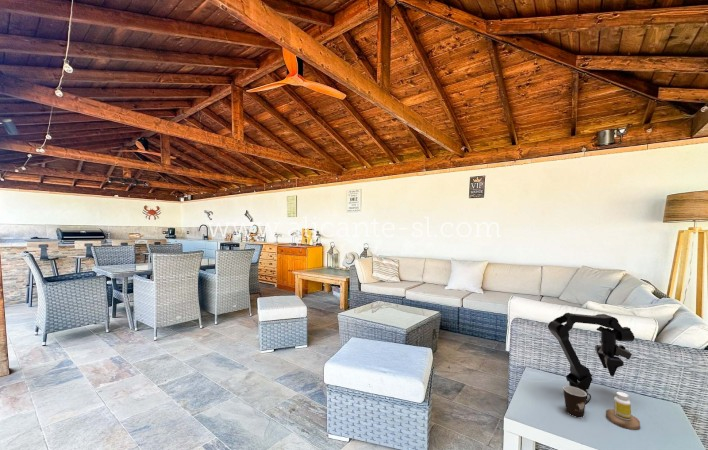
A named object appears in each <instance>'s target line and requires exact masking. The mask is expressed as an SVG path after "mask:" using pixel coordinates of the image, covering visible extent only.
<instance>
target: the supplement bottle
mask: <svg viewBox="0 0 708 450" xmlns="http://www.w3.org/2000/svg"><path fill="white" fill-rule="evenodd" d="M615 395H616V396H615V397H614V398H613V401H614V402H613V404H614V405H613V409H614V414H615V415H616V416H617V417H619V418H621V419H624V420H630V419H631V415H632V414H631V413H632V411H631V410H632V408H631V407H632V403H631V401H630V400H629V398H630V397H629V394H627V393H625V392H622V391H617V392H616V394H615Z"/></svg>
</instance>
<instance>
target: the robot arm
mask: <svg viewBox="0 0 708 450" xmlns="http://www.w3.org/2000/svg"><path fill="white" fill-rule="evenodd" d="M576 323H577V324H588V325H597V326H599V327H597V328H595V330H597V331H598V332H600V340H599V343H600V344H596V345H595V347H594V350H595V352H596V355H597V357H598V359H599V360H600V363H601V364H602V365H601V366H603V368H604V369H607V371H608V373H609V375H610V377H614V376H615V374H616V372H617V369H618V368H620V367H625V363H624V360H623V359H621V357H623V358H625V359H626V360H631V358H632V356H633V354H632V353H631V352H630V351H629V350H627V349H626V346H624V345H622V344H619V345H618V344H617V341H618V342H630V343H631V342H634V341H635V334H634V333H633V331H632V330H631V327H628V326H622V325H621V323H619V320H618V318H617V317H614V316H613V315H608V314H605V313H597V314H595V315H591V314H583V313H582V314H580V313H570V312H565V313H564V314H563V315H560V316H559V317H556V318H554V319H553V320H552V321H550V322H549V323H548V324H547V329H548V331H550V333H551V335H552V336H553V337H554V338H556V340H557V341H558V343H559V345H560V347H561V349H562V351H563V354H564V355H565V358H566V359H567V362H568V364H569V365H570V366H569V371H570V372H569V373H568V374H567V375H566V376H565V378H566V381H567V382H569V383H568V386H572V387H576V388H579V389H581V390H583V391H585V392H586V393H588V390H589V389H590V386H591V383H592V382H593V378H592V377H593V374H592V373H591V370H590V368H589V367H587V366H586V365H584V364H582V362H581V361H580V359H579V357H578V354H577V353H576V351H575V349H574V347H573V345H572V343H571V341H570V331H571V330H572V329H573V327H574V325H575V324H576ZM587 401H588V396H587V397H586V402H587Z"/></svg>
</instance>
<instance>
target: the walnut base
mask: <svg viewBox="0 0 708 450" xmlns="http://www.w3.org/2000/svg"><path fill="white" fill-rule="evenodd" d="M605 417H606V420H608V421H609V422H610V423H611V424H614V425H616V426H617V427H620V428H623V429H625V430H630V431H631V430H632V431H636V430H640V429H641V421H640V419H639V418H637V417H636V416H635V415H632V414H631V419H630V420H624V419H621V418H619V417H617V416H616V415H615V414H614V408H609V409H606V410H605Z"/></svg>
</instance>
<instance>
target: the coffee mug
mask: <svg viewBox="0 0 708 450" xmlns="http://www.w3.org/2000/svg"><path fill="white" fill-rule="evenodd" d="M562 389H563V395H564V404H565V411H566V413H567V412H568V413H569V414H568V413H567V414H568V415H570V414H571V415H570V416H572V415H573V416H572V417H574V416H576V417H575V418H578V417H582V418H584V417H583V416H585V410H586V409H585V408H586V405H588V404H589V403H590V402H591V400H592V395H591V394H590V393H588V392H587V393H586V392H585V391H583V390H581V389H579V388H576V387H572V386H569V385H565V386H563V387H562ZM586 397H587V398H588V399H586ZM586 400H587V402H586Z"/></svg>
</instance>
